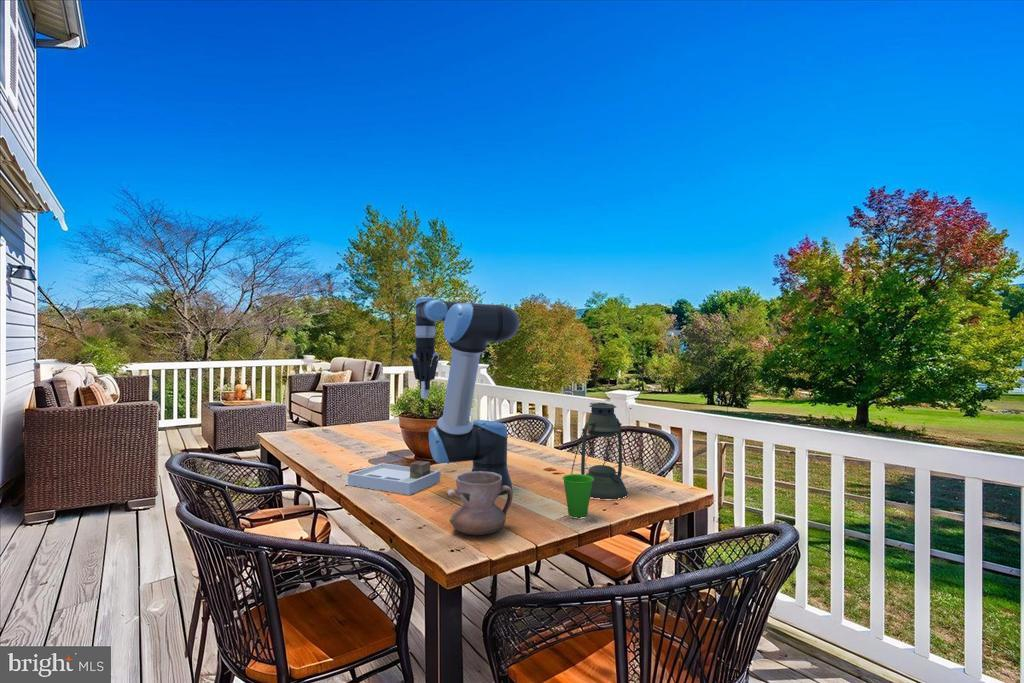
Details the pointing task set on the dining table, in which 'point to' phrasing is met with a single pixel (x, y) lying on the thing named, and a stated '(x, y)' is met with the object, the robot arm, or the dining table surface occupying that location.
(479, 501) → the ceramic jug
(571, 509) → the cup
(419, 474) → the walnut block
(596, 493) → the lantern
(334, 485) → the dining table surface
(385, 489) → the box
